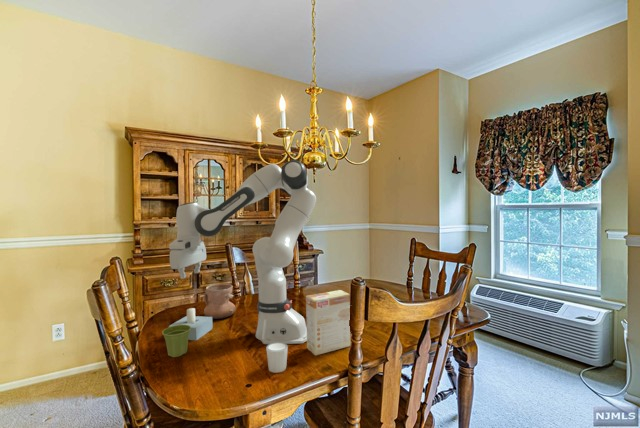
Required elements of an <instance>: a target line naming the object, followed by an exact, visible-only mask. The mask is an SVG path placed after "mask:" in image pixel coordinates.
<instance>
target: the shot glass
mask: <svg viewBox="0 0 640 428" xmlns="http://www.w3.org/2000/svg"><path fill="white" fill-rule="evenodd" d="M288 349H289V347H288V344H285V343H282V342H276V343H271V344H267V345H266V356H267V357H266V358H267V367H268V371H269V372H271V373H275V374H276V373H282V372H284V371H286V369H287V362H288V361H287V360H288Z"/></svg>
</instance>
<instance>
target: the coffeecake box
mask: <svg viewBox="0 0 640 428" xmlns="http://www.w3.org/2000/svg"><path fill="white" fill-rule="evenodd" d="M350 296H351V295H350V293H348V292H346V291H344V290H342V289H337V290H331V291H326V292H322V293H321V292H320V293H315V294H309V295H308V294H307V295H306V296H305V303H306V304H305V309H306V312H305V313H306V316H305V317H306V318H305V319H306V327H307V341H306V348H307V350H308V351H309V352H311V353H312V354H313V355H314V356H320V355H322V354H326V353H330V352H334V351H336V350H340V349H345V348H349V347H352V346H351V332H350V326H349V320H350V306H351V305H350V304H351V299H350V298H351V297H350Z"/></svg>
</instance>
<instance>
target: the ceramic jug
mask: <svg viewBox="0 0 640 428" xmlns="http://www.w3.org/2000/svg"><path fill="white" fill-rule="evenodd" d="M233 287H234V286H233V285H232V284H230V283H229V284H227V283H226V284H224V283H216V284H209V285H207V286H206V288H205V292H204V302H205V305H206V306H205V307H204V309H203V314H204V317H212V320H220V319H225V318H227V317H231V316H232V315H233V314H234V313H235V312H236V309H237V307H236V305H235V304H234V303H233V302H231V301H230V299H233V297H234V294H232V292H233Z"/></svg>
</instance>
